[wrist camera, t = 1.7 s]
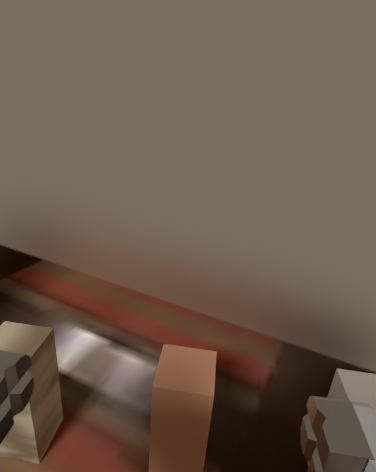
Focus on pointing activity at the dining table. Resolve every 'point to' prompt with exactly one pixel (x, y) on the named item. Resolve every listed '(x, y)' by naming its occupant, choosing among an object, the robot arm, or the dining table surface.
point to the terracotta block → (181, 409)
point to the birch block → (34, 392)
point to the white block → (354, 387)
